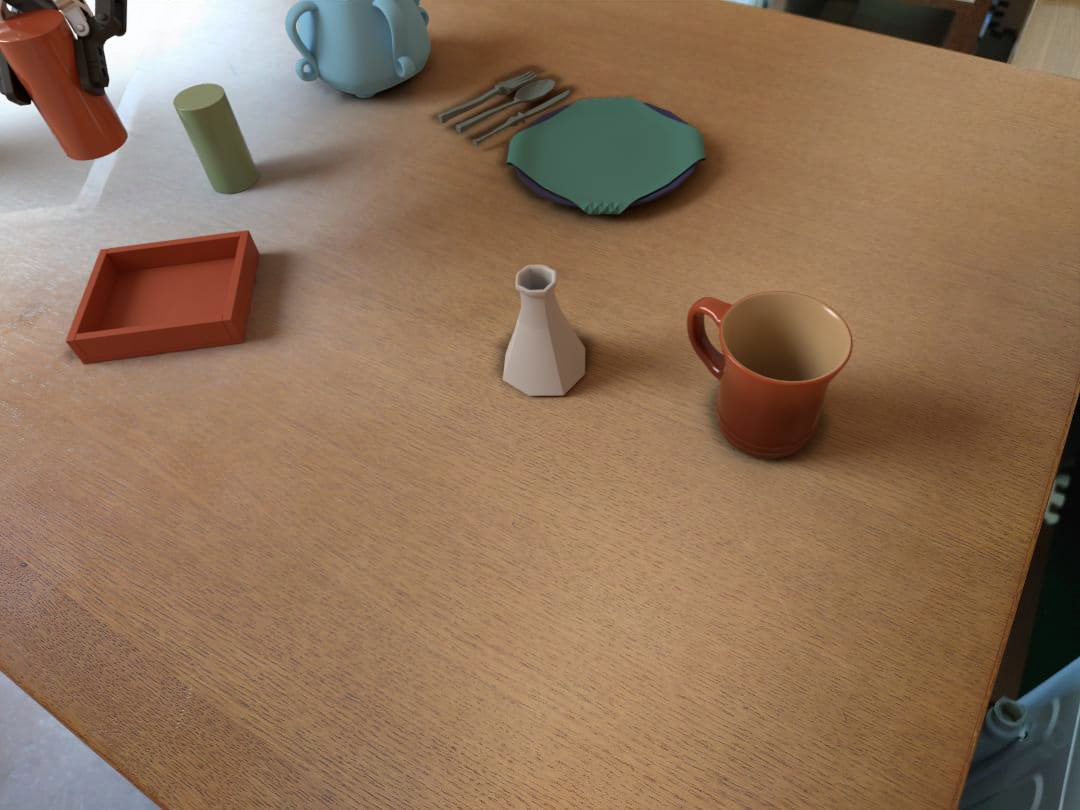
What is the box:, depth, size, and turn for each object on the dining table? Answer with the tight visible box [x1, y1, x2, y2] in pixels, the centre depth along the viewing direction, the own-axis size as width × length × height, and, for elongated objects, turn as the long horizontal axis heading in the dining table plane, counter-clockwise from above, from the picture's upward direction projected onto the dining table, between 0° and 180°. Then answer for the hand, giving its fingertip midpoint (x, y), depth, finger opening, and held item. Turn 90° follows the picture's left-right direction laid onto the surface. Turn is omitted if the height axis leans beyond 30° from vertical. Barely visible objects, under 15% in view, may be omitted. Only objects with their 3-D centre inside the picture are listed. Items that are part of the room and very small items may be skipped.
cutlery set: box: [437, 70, 707, 216], centre depth 85 cm, size 20×30×2 cm, turn 41°
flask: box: [502, 264, 586, 397], centre depth 62 cm, size 7×7×10 cm
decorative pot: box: [284, 0, 432, 99], centre depth 95 cm, size 16×16×14 cm
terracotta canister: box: [0, 9, 129, 162], centre depth 62 cm, size 5×5×10 cm
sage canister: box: [172, 82, 259, 195], centre depth 83 cm, size 5×5×10 cm
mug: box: [686, 290, 854, 460], centre depth 57 cm, size 12×9×10 cm
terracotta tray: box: [65, 229, 260, 365], centre depth 73 cm, size 15×13×3 cm
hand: (57, 97), depth 60 cm, fingers closed on terracotta canister, 5 cm apart
